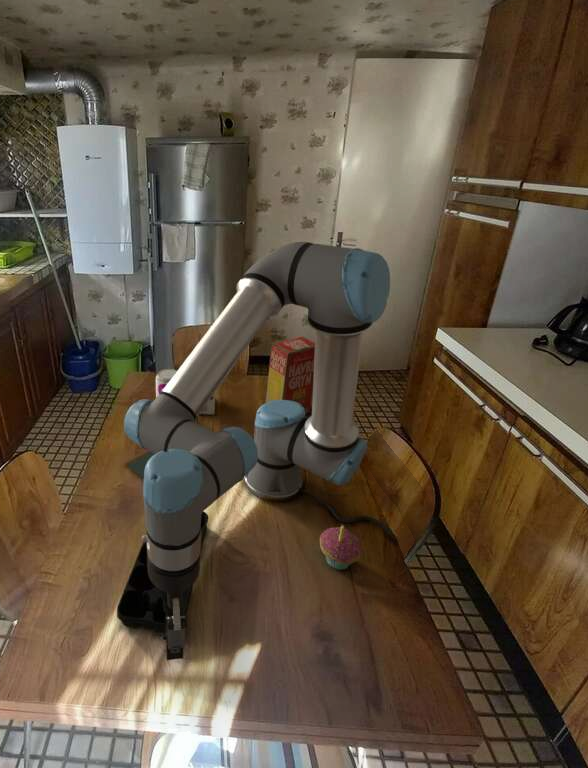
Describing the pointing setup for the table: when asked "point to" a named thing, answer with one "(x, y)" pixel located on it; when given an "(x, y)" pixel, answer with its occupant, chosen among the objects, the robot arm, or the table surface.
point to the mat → (140, 464)
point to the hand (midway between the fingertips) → (174, 654)
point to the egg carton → (147, 594)
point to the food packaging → (292, 371)
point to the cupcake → (340, 547)
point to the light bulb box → (209, 406)
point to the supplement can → (163, 379)
